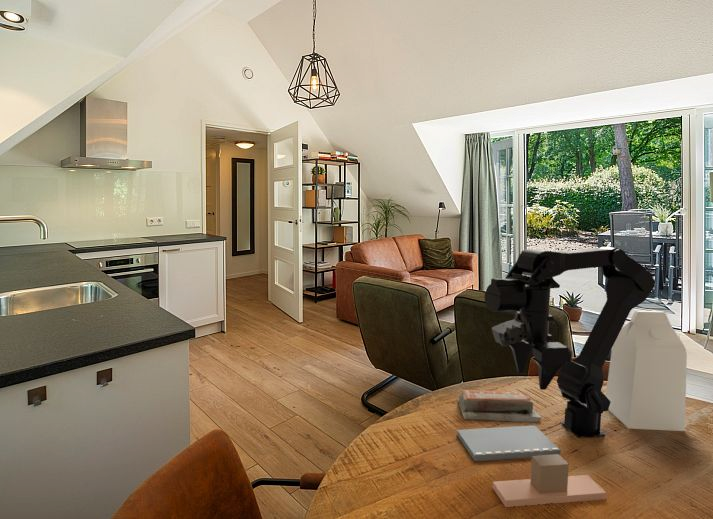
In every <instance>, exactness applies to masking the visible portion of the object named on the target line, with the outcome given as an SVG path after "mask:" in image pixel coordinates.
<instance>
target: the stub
mask: <svg viewBox="0 0 713 519" xmlns="http://www.w3.org/2000/svg"><path fill="white" fill-rule="evenodd" d="M530 462H531V465H530V466H531V467H530V478H528V479H527V478H526V479H525V478H524V479H513V480H512V479H511V480H510V479H509V480H496V481H492V489H493V491H494V492H495V494H496V495H497V496H498V498H499V500H500V501H501V502H502V504H503V506H504V507H505V508H512V507H513V508H514V506H515V507H525V505H527V506H538V504H540V505H549V503H553V504H562V503H563V502H565V503H575V502H576V503H577V502H587V501H590V502H591V501H601V500H602V501H603V500H607V491H605V489H604V488H602V487H601V486H600V485H599V484H598V483H597V482H595V481H594V480H593V479H592V478H591V476H589V475H588V474H581V475H569V469H570V466H569V462H567V461H566V460H565V459H564V458H563V457H562V456H561V454H560V455H559V454H554V455H539V456H532V457H531V460H530ZM547 503H548V504H547ZM563 504H564V503H563Z"/></svg>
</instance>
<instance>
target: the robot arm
mask: <svg viewBox="0 0 713 519" xmlns="http://www.w3.org/2000/svg"><path fill="white" fill-rule="evenodd" d="M591 268H592V269H593V268H594V269H595V268H600V271H601V274H602V276H603V277H604V278H605V279H606V280H607V282H606V284H605V294H606V301H605V303H604V305H603V307H602V309H601V311H600V313H599V315H598V316H597V317H598V318H597V319H596V321H595V324H594V326H592V329H591V330H590V332H589V335H588V337H587V339H586V341H585V343H584V345H583V347H582V348H581V351H580V353H579V355H578V356H576V357H575V358H574V359H573V351H572V350H571V349H570V348H569V347H568V346H566V345H564V344H562V343H561V342H559V341H555V342H554V341H553V335H552V334H550V333H549V327H550V326H549V325H550V322H553V321H554V316H553V315H552V314H550V302H551V289H559V288H560V287H561V285H560V284H559V283H558V282H557V281H556V280H555V279H554V278H555V277H557V276H560V275H562V274H563V273H565V272H567V271H574V270H582V269H584V270H585V269H591ZM653 276H654V275H652V272H650V271H649V270H647V269H646V268H645V266H644V265H642V264H641V263H640V262H638V261H636V260H634V259H633V258H632V257H630V256H629V255H628V254H627V253H626V252H625V251H624V250H623V249H622V248H619V247H613V246H612V247H611V246H601V247H598V248H596V247H595V248H588V249H587V248H586V249H576V250H566V251H564V250H563V251H554V250H553V251H551V250H542V249H534V248H526V249H523V250H522V251H520V254H519V255H518V258H517V260H516V262H515V263H514V264H513V266H512V267H511V269H510V270H509V272H508V273H507V275H506V276H505V278H499V277H498V278H495V277H494V278H491V279H490V280H491V281H490V284H488V286H487V287H486V290H485V291H484V303H485V306H486V308H487V310H488V311H489V312H492V313H499V312H515V313H514V315H513V316H514V318H513V319H511V320H506V321H504V322H501V323H499V324H496V325H494V326H492V327H491V330H492V334H493V338H494V340H495V342H496V343H498V344H499V345H500V346H501V347H505V348H507V347H510V349H511V352H512V356H513V359H514V363H515V366H516V370H517V373H518V374H523V373H524V371H525V368H526V366H527V363H528V360H529V357H530V353H531V350H532V355H533V357H531V359H532V361H533V362H535V363H536V364H537V369H538V370H537V371H538V383H539V389H540V390H541V391H543V390H544V391H545V390H547V388H548V386H549V385H550V384H551V382H552V380H553V379H554V378H555V376H556V375H557V379H556V383H557V387H558V389H559V391H560V393H561V397H562V398H564V399H566V400H567V401H566V402H567V403H566V407H565V409H564V420H562V421H561V424H562V426H564V427H565V428H566V429H567V430H568V431H570V432H571V433H572V434H573V435H575V436H576V437H577V438H591V437H592V438H593V437H605V436H606V433H605V432H604V431H603V430H602V429H601V426H602V425H601V423H602V422H601V421H602V414H603V413H604V412H607V411H609V410H608V409H609V406H610V403H611V401H610V400H609V399H608V398H607V397H606V394H604V393H603V391H602V389H603V385H604V381H605V380H604V372H603V367H604V365H605V362H606V361H607V359H608V356H609V355H610V354H611V352H612V347H613V345H614V343H615V341H616V339H617V337H618V335H619V333H620V331H621V329H622V328H623V327H624V326H625V323H626V321H627V319H628V317H629V316H630V313H631V311H632V310H633V309H635V308H636V307H638V306H639V305H641V304H642V303H644V302H645V301H646V300H647V298H649V295H650V294H651V293H652V291H653V289H654V287H655V284H656V283H655V278H654V277H653ZM547 341H549V342H547ZM551 341H552V342H551Z"/></svg>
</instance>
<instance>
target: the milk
mask: <svg viewBox="0 0 713 519" xmlns="http://www.w3.org/2000/svg"><path fill="white" fill-rule="evenodd" d="M687 356H688V354H687V349H686V347H685V344H684V343H683V341H682V340H681V338H680V336H679V335H678V334H677V331H675V329H674V327H673V326H672V324H671V323H670V321H669V318H668V316H667V314H666V311H662V310H635V311H634V313H633V314H632V317H631V318H630V320H629V322H628V323H627V324H624V325H623V327H622V329H621V331H620V333H619V335H618V337H617V339H616V341H615V343H614V345H613V347H612V349H611V352H610V362H609V366H608V367H609V368H608V375H607V383H606V389H605V396H606V397H607V398H608V399H609V400H610V401H611V403H610V406H609V409H608V411H609V412H610V413H611V414H612V415H614V417H615V418H617V419H618V420H619V421H620V422H621V423H622V424H623V425H624V426H625V427H627V429H629V430H630V429H636V430H653V431H656V430H658V431H672V432H673V431H675V432H676V431H677V432H685V431H686V402H687V400H686V398H687V397H686V396H687V394H686V393H687V392H686V391H687V360H688V359H687V358H688V357H687Z"/></svg>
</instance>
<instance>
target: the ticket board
mask: <svg viewBox="0 0 713 519" xmlns="http://www.w3.org/2000/svg"><path fill="white" fill-rule="evenodd" d="M456 436H457V437H458V438H459V440H460V442H461V444H463V446H464V448H465V449H466V451H467V452H468V454H469V455H470V457H471V458H472V460H473V461H474V462H483V461H497V460H499V461H500V460H513V459H514V460H515V459H528V458H529V459H530V458H531V459H532V456H539V455H554V454H559V455H560V456H561V451H562V449H560V447H558V446H557V444H555V443H554V442H553V441H552V440H551V439H550V438H549V437H548V436H546V435H545V434H544V433H543V432H542V431H541V430H540V429H539V428H538V427H537V426H535V425H534V424H533V425H525V426H524V425H520V426H518V425H517V426H501V427H500V426H499V427H485V428H482V427H481V428H468V429H457V430H456Z"/></svg>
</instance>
